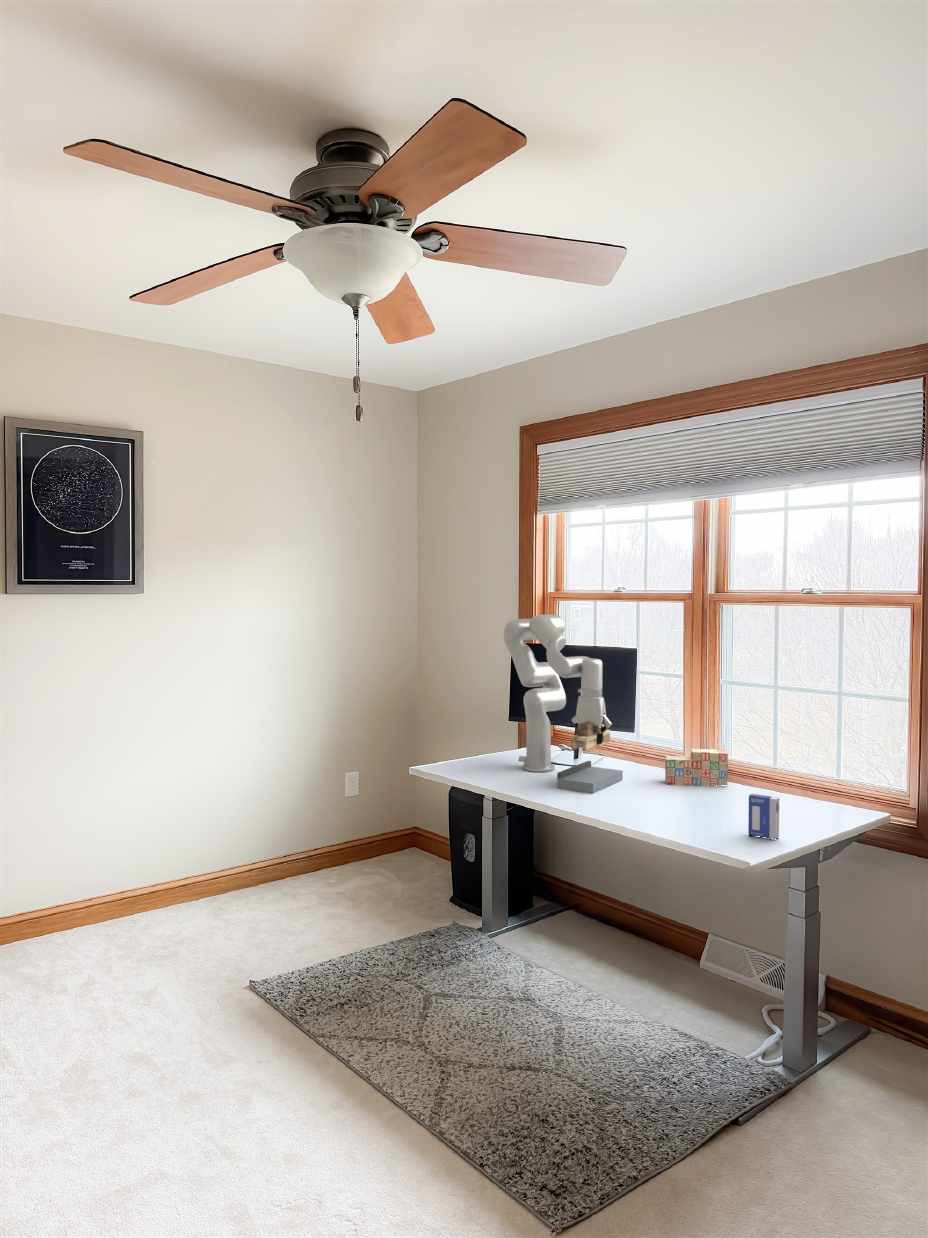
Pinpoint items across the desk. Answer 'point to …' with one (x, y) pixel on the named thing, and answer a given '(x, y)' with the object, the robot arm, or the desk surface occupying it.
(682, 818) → the desk surface
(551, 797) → the desk surface
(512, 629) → the robot arm
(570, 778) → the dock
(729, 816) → the desk surface
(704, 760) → the stack of blocks
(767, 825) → the walkman
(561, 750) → the desk surface
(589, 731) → the brown wooden cube
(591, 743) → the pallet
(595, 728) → the teal cube
